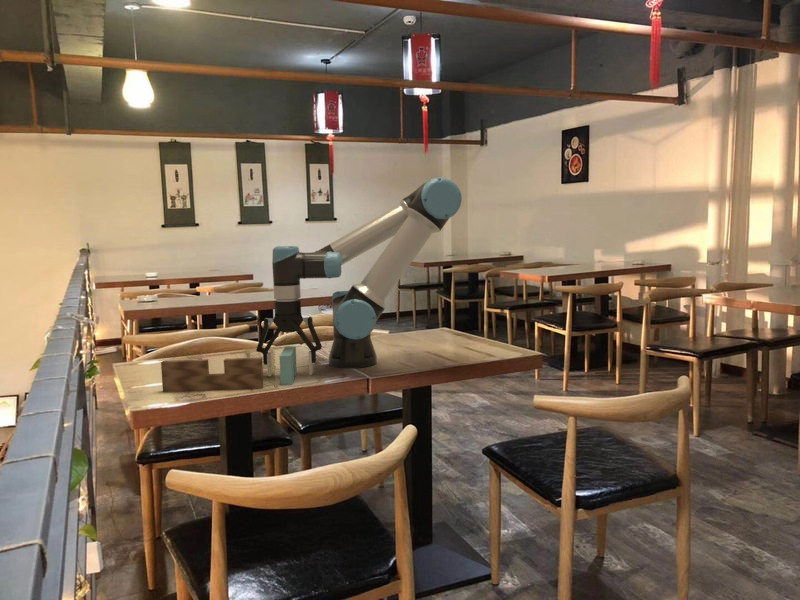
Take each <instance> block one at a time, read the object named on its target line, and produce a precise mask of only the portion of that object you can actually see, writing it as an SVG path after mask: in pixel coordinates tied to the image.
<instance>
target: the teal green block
mask: <svg viewBox="0 0 800 600" xmlns="http://www.w3.org/2000/svg"><path fill="white" fill-rule="evenodd" d="M297 371H298V370H297V347H296V346H284V348H283V350H282V351H281V353H280V354H279V377H280V386H291V385H293V383H294V380H295V378H296V376H297V374H298V372H297Z"/></svg>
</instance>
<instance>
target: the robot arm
mask: <svg viewBox="0 0 800 600" xmlns="http://www.w3.org/2000/svg"><path fill="white" fill-rule="evenodd" d="M462 199H463V197H462V193H461V190H460V188H459V186H458V184H456V183H455V181H453V180H452V179H449V178H446V177H442V176H441V177H434V178H431V179H430V180H428V181H426V182H425V183H423V184H421V185H420V186H419V187H418V188H416V189H415V190H414V191H413V192H411V193H410V194H409V195H407V196H406V197H404V198H402V199H401V200H400V201H399V204H398V205H396V206H395V207H393V208H391V209H390V210H387V211H386V212H384V213H382V214H380V215H378V216H376V217H375V218H373V219H371V220H370V221H368V222H366V223H364V224H362V225H361V226H359V227H357V228H356V229H354V230H352V231H350V232H349V233H347V234H345V235H343V236H341V237H339V238H338V239H336V240H334V241H332V242H331V243H329V244H328V245H326V246H324V247H321V248H320V249H318V250H315V251H314V252H302V251H301V252H300V249H299V247H298V245H281V246H280V245H279V246H275V247H274V248H273V249H272V261H271V262H272V263H271V264H272V280H273V286H272V287H273V299H274V300H275V301H274V305H273V306H274V317H273V318H268V317H265V318H264V319H263V328H262V331H261V334H260V337H259V339H258V343H257V346H256V348H255V350H256V352H257V353H261V354H262V364H263V365H267V366H266V367H267V368H266V369H267V377H271V376H272V352H269V350H270V349H271V347H272V346H273V344H274V342H275V341H276V339H277V338H278V337H279V335H280V333H281V332H282V333H295V332H296V333H297V334H298V335H299V337H300V338H301V339H302V342H304V343H305V345H306V347H307V348H308V349H309V351H308V368H309V369H308V371H309V376H312V375H313V373H314V372H313V364H316V361H317V354H316V353H317V351H321V350H322V346H323V345H322V343H321V340H320V338H319V336H318V333H317V332H316V328H315V327H314V322H313V317H312V316H308V317H307V316H306V317H303V315H302V302H301V300H300V298H301V297H302V296H301V295H302V294H301V280H302V279H303V280H305V279H333V278H334V279H335V278H340V277H341V276H342V266H343V265H345V264H347V263H348V262H351V261H352V260H353V259H355V258H357V257H359V256H361V255H363V254H364V253H366V252H368V251H369V250H371V249H373V248H375V247H377V246H378V245H380V244H382V243H384V242H386V241H387V240H390V239H391V240H390V241H389V243H388V244H387V246H386V247H385V248H384V250H383V251H382V253H381V254H380V255H379V257H378V258H377V260H376V261H375V263H374V264H373V265H372V267H371V268H370V269H369V271H368V272H367V274H366V275H365V276H364V278H363V279H362V281H361V282H360V283H356V284H353V285H351V287H350V288H349V290H339V291H335V292H333V293H332V295H331V297H332V298H331V304H332V323H333V324H332V327H333V341H332V344H331V348H330V352H329V355H328V365H329V366H330V367H335V368H341V369H342V368H343V369H357V368H365V367H372V366H373V365H375V364H377V362H378V360H377V359H378V358H377V353H376V349H375V347H374V345H373V341H372V338H371V337H372V336H371V335H372V334H371V333H372V332H373V331H374V329H375V327H376V323H377V321H378V319H379V318H380V316H381V315H382V314H383V312H384V311H385V309H386V304H385V303H386V302H385V301H386V299H387V298H388V296H389V295H390V294H391V292H392V290H393V289H394V288H395V287H396V285H397V284H398V282H399V281H400V280H401V278H402V276H403V275H404V274H405V273H406V271H407V270H408V268H409V267H410V265H411V264H412V263H413V262H414V259H415V258H416V257H417V255H418V254H419V253H420V251H421V250H422V249H423V247H424V245H425V244H426V243H427V241H428V240H429V238H430V237H431V236H432V234H434V233H440V232H441V230H442V229H443V228H444V227H445V225H446V224H447V222H448V221H449V219H451V218H452V217H454V216H455V215H456V214H457V213H458V212H459V209H460V208H461V205H462V201H463V200H462ZM303 322H304V323H305V325H306V326H307V328H308V330H309V332H310V334H311V337H312V339H313V342H314V343H312V341H311V340H310V339H309V337H308V336H307V335H306V332H304V330H303V329H302V327H301V325H302V323H303ZM272 323H274V325H275V326H276V327H277V328H276V329H275V331H274V333H273V334H272V336H271V337H270V339H269V341H268V342H267V344H266V346H265V347H264V343H265V340H266V337H267V334H268V331H269V328H270V326H272V325H273V324H272ZM314 344H315V345H314Z"/></svg>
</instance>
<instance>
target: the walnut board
mask: <svg viewBox="0 0 800 600" xmlns="http://www.w3.org/2000/svg"><path fill="white" fill-rule="evenodd" d="M209 367H210V366H209V358H207V359H205V358H203V359H181V360H178V359H176V360H161V362H160V368H161V382H162V384H161V385H162V386H161V387H162V393H174V392H176V393H177V392H179V393H180V392H202V391H223V390H224V391H226V390H228V391H229V390H249V389H250V390H253V389H255V390H256V389H257V390H258V389H263V388H264V370H263V369H264V367H263V356H262V357H241V358H240V357H237V358H234V357H233V358H224V359H223V371H224V373H210V369H209Z"/></svg>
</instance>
